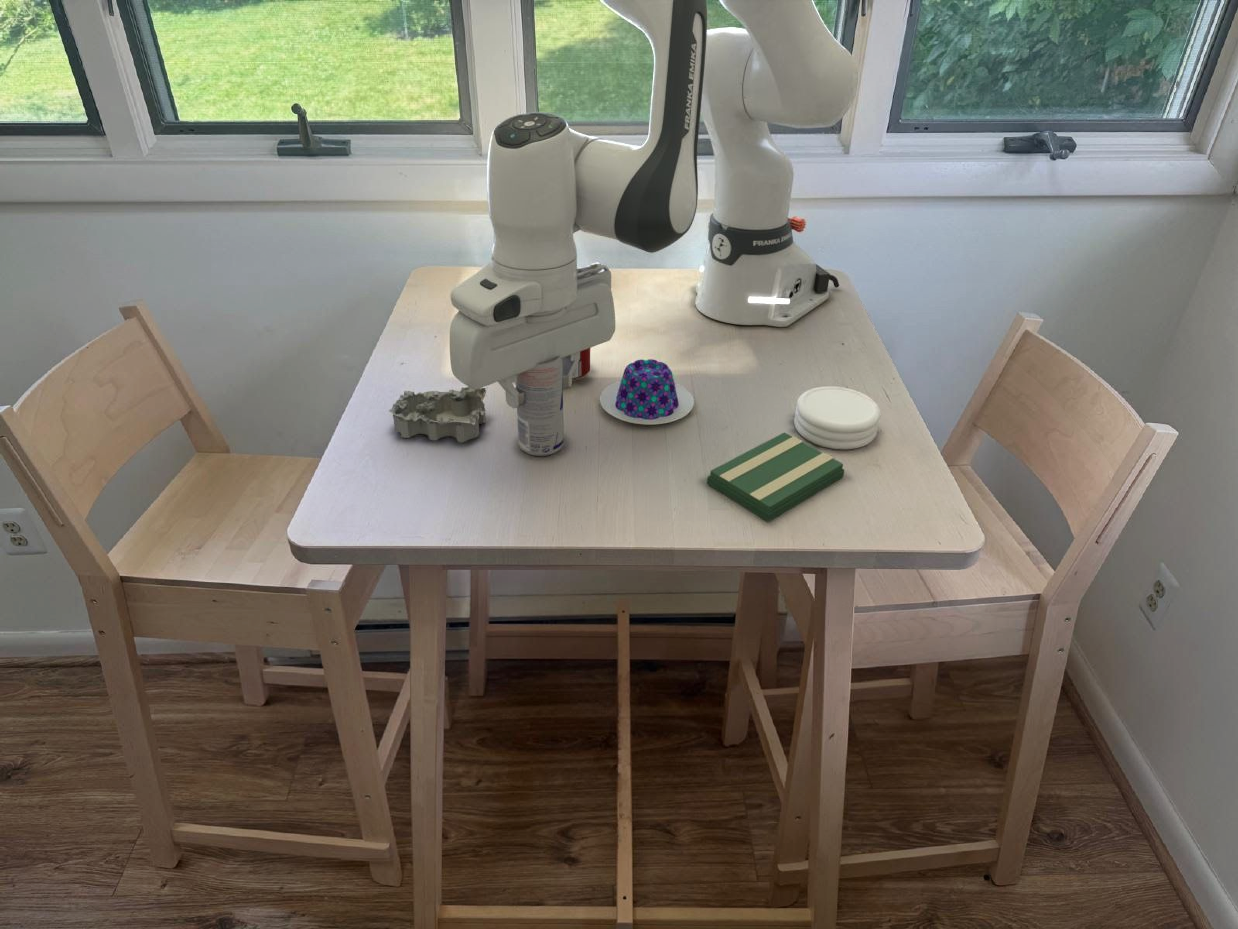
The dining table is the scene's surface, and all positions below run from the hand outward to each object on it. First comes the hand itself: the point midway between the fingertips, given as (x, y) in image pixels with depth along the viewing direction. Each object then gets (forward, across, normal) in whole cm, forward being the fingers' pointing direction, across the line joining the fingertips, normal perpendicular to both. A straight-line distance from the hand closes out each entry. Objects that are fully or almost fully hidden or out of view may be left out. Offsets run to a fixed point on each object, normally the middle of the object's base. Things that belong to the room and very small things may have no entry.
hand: (539, 395), depth 99 cm
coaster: (+7, -30, +20) cm, 37 cm away
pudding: (+7, -16, +1) cm, 18 cm away
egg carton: (+7, +7, -11) cm, 15 cm away
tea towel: (+7, -16, +22) cm, 28 cm away
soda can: (+7, -13, -12) cm, 19 cm away
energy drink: (+7, 0, 0) cm, 7 cm away
